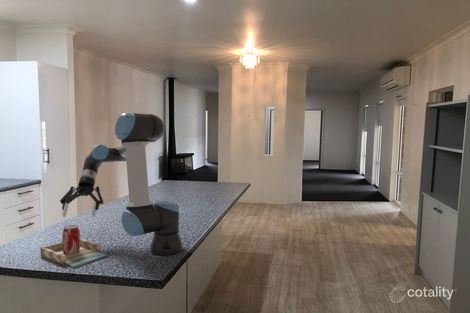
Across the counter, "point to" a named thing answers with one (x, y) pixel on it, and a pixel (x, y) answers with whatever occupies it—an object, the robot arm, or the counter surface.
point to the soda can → (71, 239)
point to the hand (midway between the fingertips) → (78, 215)
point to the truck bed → (83, 256)
